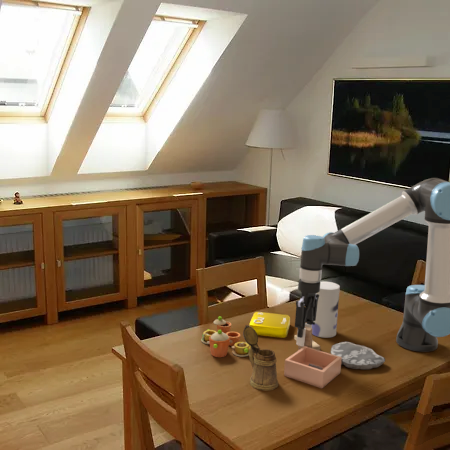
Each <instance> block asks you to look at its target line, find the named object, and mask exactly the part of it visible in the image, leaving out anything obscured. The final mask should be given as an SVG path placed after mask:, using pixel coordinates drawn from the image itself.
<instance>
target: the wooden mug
mask: <svg viewBox="0 0 450 450" xmlns="http://www.w3.org/2000/svg"><path fill="white" fill-rule="evenodd" d="M242 337H243V340H244V342H246V343H248V344H249V347H250V346H251V347H250V349H249V355H248V358H249V362H250V364H251V367H252V373H251V376H250V379H249V385H250V386H251V387H252V388H255V389H257V390H258V391H259V390H260V391H273V390H275V389H277V388H278V387H279V381H278V372H277V357H276V352H275V351H273V350H271V349H261V348H260V347H259V345H258V342H259V335H257V333H256V331H255V330H254V329H253V328H252V327H251V326H249V325H248V324H245V326H244V328H243V332H242Z"/></svg>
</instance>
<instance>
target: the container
mask: <svg viewBox="0 0 450 450" xmlns="http://www.w3.org/2000/svg"><path fill="white" fill-rule="evenodd" d="M340 287H341V286H340V285H339V284H338V283H335V282H332V281H320V291H319V292H318V293H316V294H319V299H318V304H317V313H316V320H315V321H313V322H315V325H313V324H312V336H315V337H318V338H327V339H329V338H334V337H335V336H336V335H337V327H338V316H339V315H338V314H339V313H338V312H339V300H340V289H341V288H340Z"/></svg>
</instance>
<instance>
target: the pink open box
mask: <svg viewBox="0 0 450 450" xmlns="http://www.w3.org/2000/svg"><path fill="white" fill-rule="evenodd" d="M341 360H342V357H340V356H336V355H333V354H331V352H326V351H322V350H321V349H320V350H316V349H313V348H310V347H306V346H304V347H303V348H301V349H300V350H298V349H297V351H296V352H294V353H293V354H291V355H290V356H289V357H287V358H285V359H284V371H283V372H284V373H283V376H284V377H286V378H289V379H292V380H295V381H298V382H302V383H305V384H308V385H310V386H312V387H317V388H319V389H323V388H325V386H327V385H328V384H329V383H331V381H333V380H334V379H335V378H336V377H337V376H338V375H340V374H341V371H342V370H341V368H342V364H341Z"/></svg>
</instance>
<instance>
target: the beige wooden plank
mask: <svg viewBox="0 0 450 450" xmlns="http://www.w3.org/2000/svg"><path fill="white" fill-rule="evenodd" d="M293 339H294V340H295V342H297V334H294V337H293ZM312 348H313V349H316V350H320V351H321V345H320V344H318V343H317V342H315V341H314V340H313V339H312Z"/></svg>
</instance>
